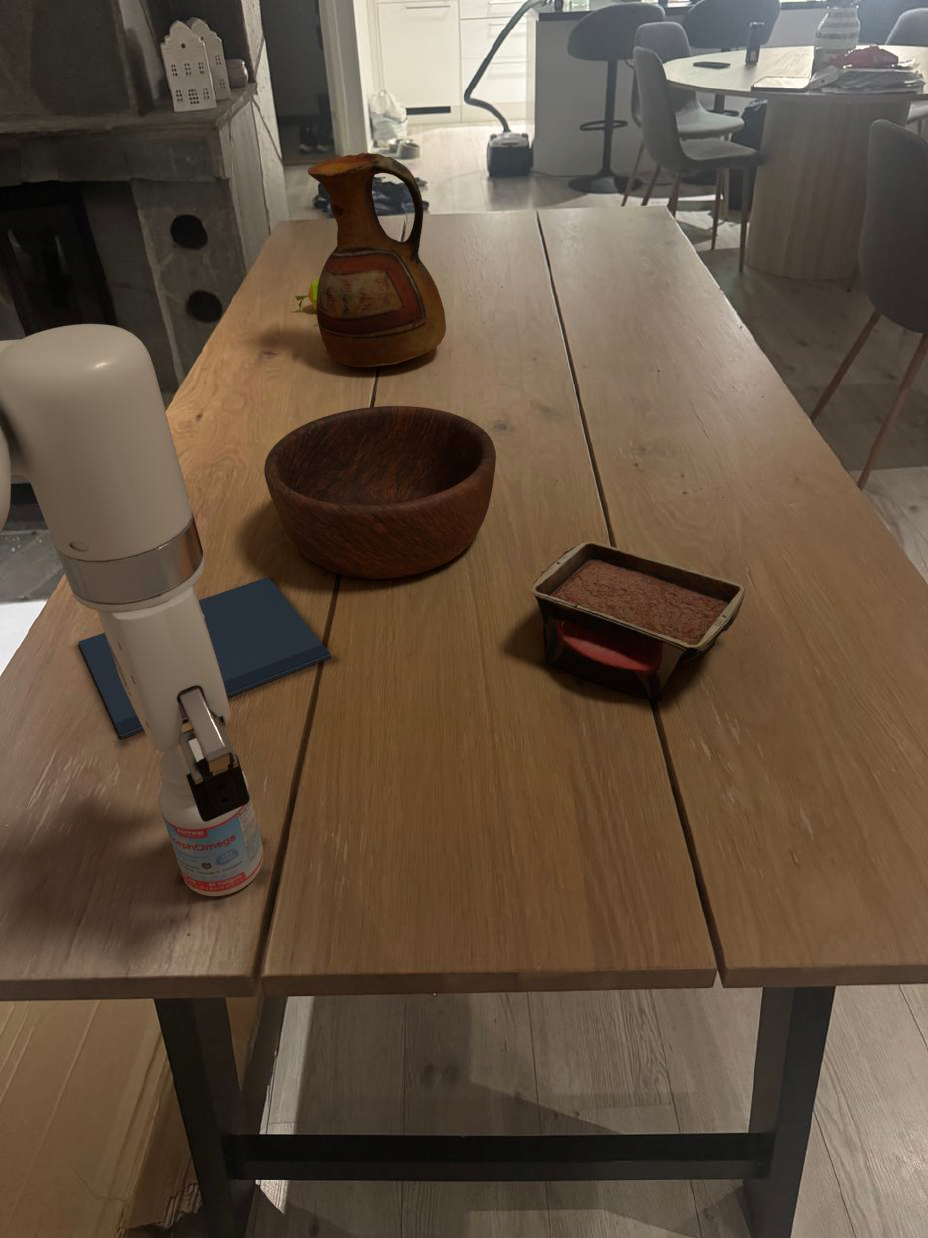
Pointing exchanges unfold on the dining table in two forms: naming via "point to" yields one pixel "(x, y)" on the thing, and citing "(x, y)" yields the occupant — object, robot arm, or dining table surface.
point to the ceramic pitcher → (374, 272)
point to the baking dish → (629, 616)
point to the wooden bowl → (382, 489)
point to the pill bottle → (207, 833)
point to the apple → (311, 294)
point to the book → (225, 647)
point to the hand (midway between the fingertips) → (201, 764)
